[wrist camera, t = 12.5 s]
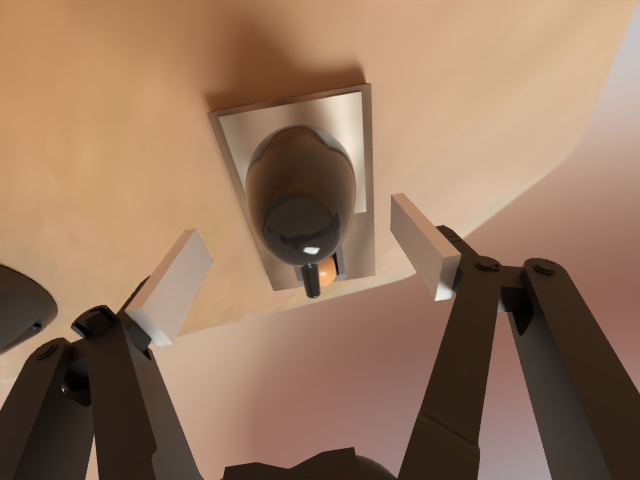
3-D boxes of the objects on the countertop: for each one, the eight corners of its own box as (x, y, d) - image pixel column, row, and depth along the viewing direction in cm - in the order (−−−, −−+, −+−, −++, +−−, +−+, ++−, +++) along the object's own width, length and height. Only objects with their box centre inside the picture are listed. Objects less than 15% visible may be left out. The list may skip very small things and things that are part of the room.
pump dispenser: (268, 217, 29) (243, 319, 17) (242, 127, 24) (174, 178, 11) (349, 205, 29) (386, 300, 17) (343, 111, 23) (393, 145, 11)
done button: (305, 272, 32) (306, 288, 29) (300, 249, 30) (299, 264, 27) (335, 268, 32) (337, 283, 29) (331, 244, 29) (334, 259, 27)
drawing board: (274, 282, 38) (271, 309, 34) (213, 110, 24) (193, 117, 20) (371, 267, 38) (381, 292, 33) (366, 83, 24) (381, 83, 19)
